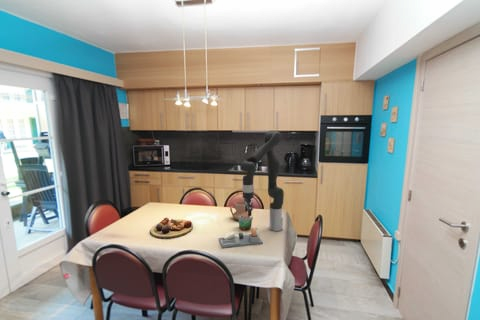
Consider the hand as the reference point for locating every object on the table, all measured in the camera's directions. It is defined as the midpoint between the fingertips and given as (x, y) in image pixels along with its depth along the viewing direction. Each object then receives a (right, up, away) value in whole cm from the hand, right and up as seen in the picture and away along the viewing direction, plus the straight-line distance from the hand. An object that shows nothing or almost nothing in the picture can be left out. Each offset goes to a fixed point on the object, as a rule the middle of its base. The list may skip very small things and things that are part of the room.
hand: (248, 213), depth 161 cm
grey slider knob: (-8, -19, -2) cm, 20 cm away
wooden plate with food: (-58, -18, +21) cm, 64 cm away
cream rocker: (-13, -16, +2) cm, 21 cm away
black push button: (-5, -18, +4) cm, 19 cm away
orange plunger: (+4, -15, 0) cm, 16 cm away
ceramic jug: (-5, -14, +41) cm, 44 cm away
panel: (-5, -19, +1) cm, 20 cm away
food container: (-3, -17, +21) cm, 27 cm away
